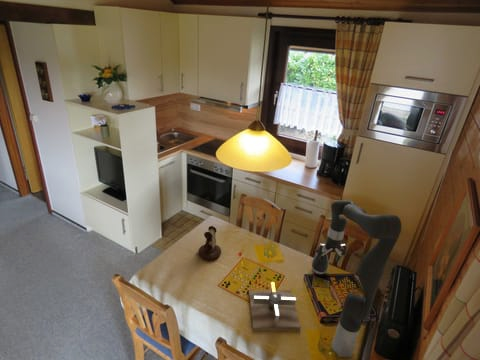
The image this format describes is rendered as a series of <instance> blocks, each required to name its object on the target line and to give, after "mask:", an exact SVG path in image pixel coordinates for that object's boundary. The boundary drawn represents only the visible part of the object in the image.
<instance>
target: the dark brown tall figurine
mask: <svg viewBox="0 0 480 360" xmlns="http://www.w3.org/2000/svg"><path fill="white" fill-rule="evenodd" d="M217 232H218V231H217V228H216V227H215V226H214V225H209V226H208V231H205V232H204V233H203V236H204V238H205V244H202V245H201V246H200V247H199V249H198V254H199V255H198V256H199V257H201V258H202V259H204V260H208V261H215V260H216V259H218V258H219V257H220V256H221V255H222V249H221V247H220V246H219V245H217V237H216V233H217Z"/></svg>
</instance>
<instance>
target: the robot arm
mask: <svg viewBox="0 0 480 360" xmlns="http://www.w3.org/2000/svg"><path fill="white" fill-rule="evenodd" d="M330 212H331V222H330V225H329V228H328V231H327V235H326V240H325V243H322V242H319V243H318V246H317V249H316V250H317V252H318V255H320V257H319V258H320V260H321V261H323V257H324V255H325V254H327V255H328V253H336V257H335V261H336V262H339V261H340V259H341V256H345V255H346V252H347V248H348V247H347V245H346V243H345V242H344V243H343V239H344V235H345V230H346V225H347V219H348V220H350V221H351V222H353V223H355V224H356V225H358V227H360V229H362V230H363V231H364V232H365V233H366V234H367V235H368V236H370V238H372V239H376V240H377V243H376V244H375V245H374V246H373V247H371V248H370V249H369V250H368V251H367V252H366V253H365V254H364V255H363V257H362V258H361V259H360V262H359V266H358V269H357V277H358V281H359V283H360V285H361V287H362V290H363V293H364V297H363V296H361V295H358V294H355V293H352V292H349V293H347V294H346V296H345V298H344V301H343V306H342V311H341V314H340V317H339V319H338V323H337V327H336V330H335V332H334V337H333V340H332V341H331V348H332V351H334V353H335V354H336V355H337V356H338V358H351V357H352V356H353V353H354V351H355V348H356V345H357V343H356V341H357V339H358V336H359V332H360V329H361V327H362V321H366V320H367V319H368V318H369V316H370V313H371V310H372V307H373V302H374V299H375V296H376V293H377V290H378V287H379V285H380V282H381V280H382V278H383V275H384V272H385V270H386V266H387V263H388V260H389V258H390V257H391V256H390V255H391V253H392V251H393V249H394V248H395V246H396V243H397V242H398V239H400V238H399V237H400V235H401V232H402V221H401V218H400V217H399V216H397V215H396V214H373V215H372V214H367V211H366V210H365V208H362V207H361V206H359V205H356V204H355V202H353V200H349V199H336V200H334V201H333V202H331V204H330ZM340 249H341V251H340ZM317 252H316V253H317Z"/></svg>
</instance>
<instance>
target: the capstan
mask: <svg viewBox="0 0 480 360" xmlns="http://www.w3.org/2000/svg"><path fill="white" fill-rule="evenodd" d="M275 286H276V285H275V282H274V281H271V282H270V286H269V287H270V288H269V289H270V290H271V293H270V294H269V296H254V300H253V304H268V305H269V309H270V310H271V311H273V312H274V319H275V321H279V310H278V306H279V305H295V306H296V303H297V298H296V297H295V296H294V297H293V296H292V297H281V295H280V294H279V293H278V292H276V287H275Z"/></svg>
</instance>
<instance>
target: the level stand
mask: <svg viewBox="0 0 480 360" xmlns="http://www.w3.org/2000/svg"><path fill="white" fill-rule="evenodd" d="M275 290H276V289H275ZM276 292H278V293H279V294H280V295H281V297H293V294H292V293H293V292H292V290H290V289H289V290H283V289H282V290H280V289H277V290H276ZM270 293H271V289H270V290H269V289H268V290H267V289H266V290H265V289H264V290H262V289H261V290H259V289H257V290H255V289H253V290H251V289H250V290H248V298H249V299H248V300H249V306H250V308H249V309H250V315H251V316H250V317H251V324H252V331H301V329H302V327H301V324H300V321H299V320H300V319H299V316H298V313H297V309H296V304H295V305H279V306H278V310H279V321H275V319H274V312H273V311H271V310H270V309H269V305H268V304H253V300H254V296H269V294H270Z"/></svg>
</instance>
